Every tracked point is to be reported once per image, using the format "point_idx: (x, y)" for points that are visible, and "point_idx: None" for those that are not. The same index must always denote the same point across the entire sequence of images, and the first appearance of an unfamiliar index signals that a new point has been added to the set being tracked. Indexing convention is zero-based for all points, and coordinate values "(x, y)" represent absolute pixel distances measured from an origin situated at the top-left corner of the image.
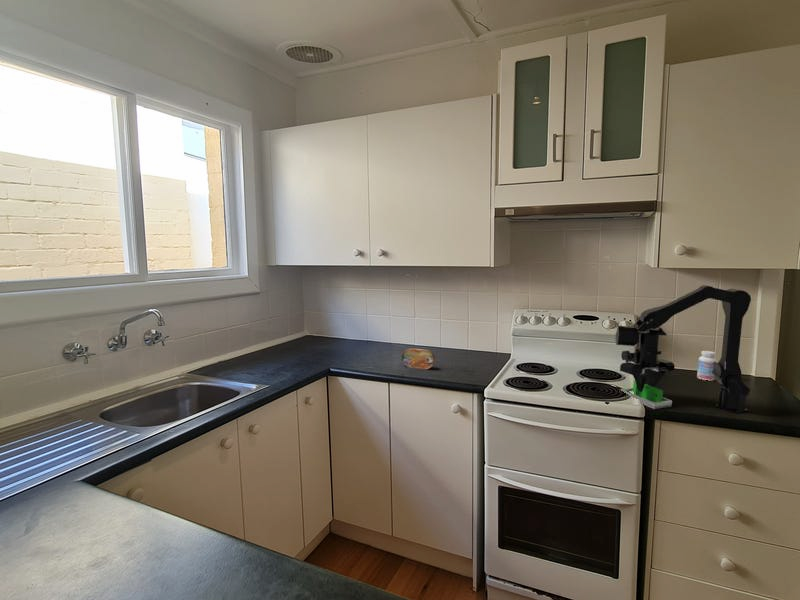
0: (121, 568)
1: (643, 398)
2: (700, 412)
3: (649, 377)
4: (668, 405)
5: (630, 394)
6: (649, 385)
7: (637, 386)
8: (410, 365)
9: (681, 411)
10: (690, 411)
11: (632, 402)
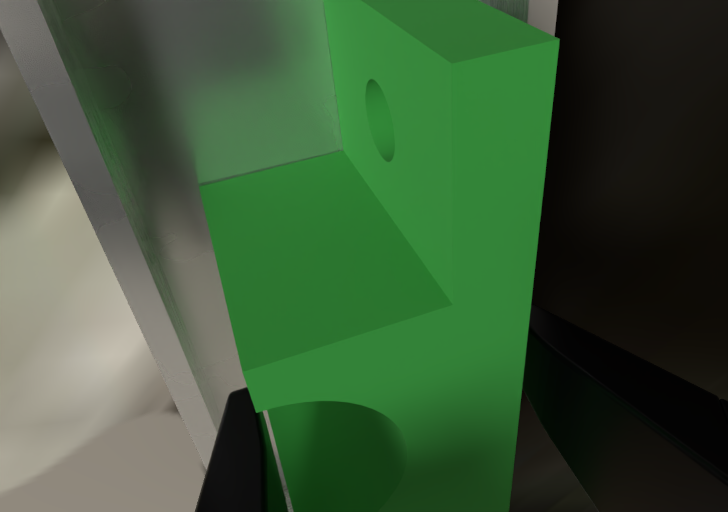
0: None
1: (205, 450)
2: (574, 478)
3: (718, 486)
4: None
5: (104, 238)
6: (515, 419)
7: (207, 484)
8: None
9: None
10: (525, 475)
11: (62, 330)
